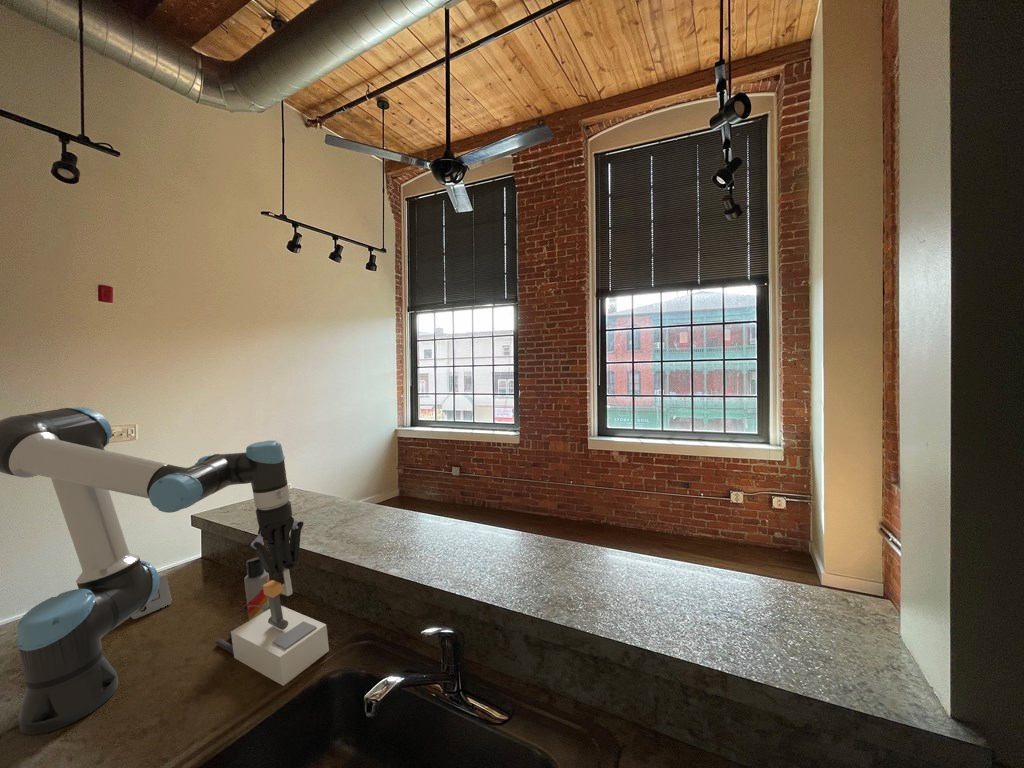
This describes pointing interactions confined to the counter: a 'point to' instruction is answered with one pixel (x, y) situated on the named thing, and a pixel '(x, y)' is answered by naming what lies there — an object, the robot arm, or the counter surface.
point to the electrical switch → (157, 599)
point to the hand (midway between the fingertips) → (286, 593)
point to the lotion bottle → (256, 588)
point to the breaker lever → (275, 604)
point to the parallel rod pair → (225, 644)
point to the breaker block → (280, 645)
